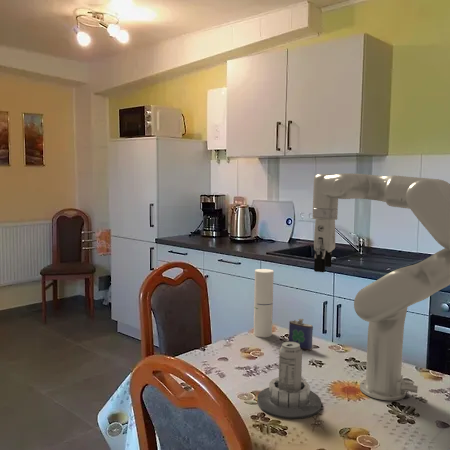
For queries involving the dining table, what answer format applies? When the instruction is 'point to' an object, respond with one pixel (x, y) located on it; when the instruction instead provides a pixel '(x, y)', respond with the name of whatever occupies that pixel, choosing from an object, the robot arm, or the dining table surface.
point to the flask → (301, 334)
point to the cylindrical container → (263, 302)
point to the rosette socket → (289, 401)
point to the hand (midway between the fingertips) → (322, 269)
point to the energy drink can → (290, 366)
